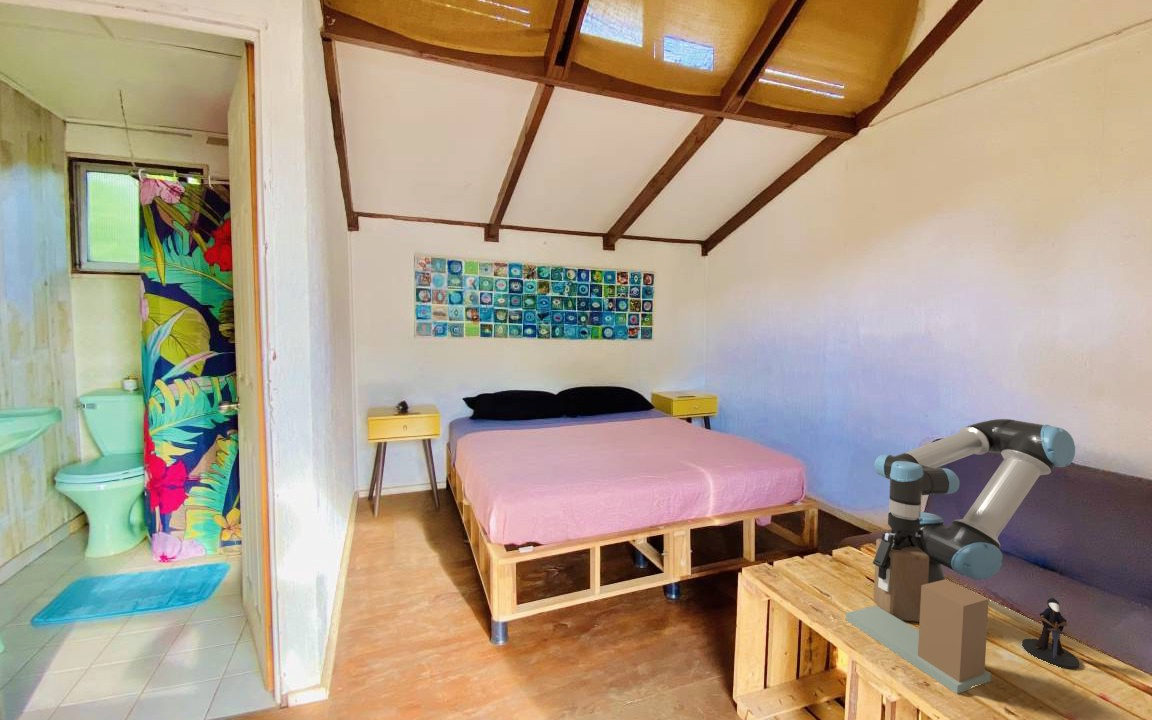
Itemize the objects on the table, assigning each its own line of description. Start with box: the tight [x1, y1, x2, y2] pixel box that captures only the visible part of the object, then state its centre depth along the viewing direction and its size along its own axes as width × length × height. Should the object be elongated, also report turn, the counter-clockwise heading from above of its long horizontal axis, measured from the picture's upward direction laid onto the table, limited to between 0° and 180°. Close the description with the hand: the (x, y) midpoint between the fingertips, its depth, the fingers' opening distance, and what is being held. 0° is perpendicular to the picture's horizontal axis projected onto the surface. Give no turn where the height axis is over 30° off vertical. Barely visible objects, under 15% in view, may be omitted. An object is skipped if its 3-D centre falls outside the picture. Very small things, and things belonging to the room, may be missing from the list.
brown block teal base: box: [845, 578, 992, 695], centre depth 115 cm, size 12×28×20 cm, turn 19°
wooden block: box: [873, 538, 929, 623], centre depth 130 cm, size 10×10×20 cm
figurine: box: [1021, 597, 1081, 670], centre depth 113 cm, size 10×10×15 cm
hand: (900, 585), depth 131 cm, fingers open, 13 cm apart
